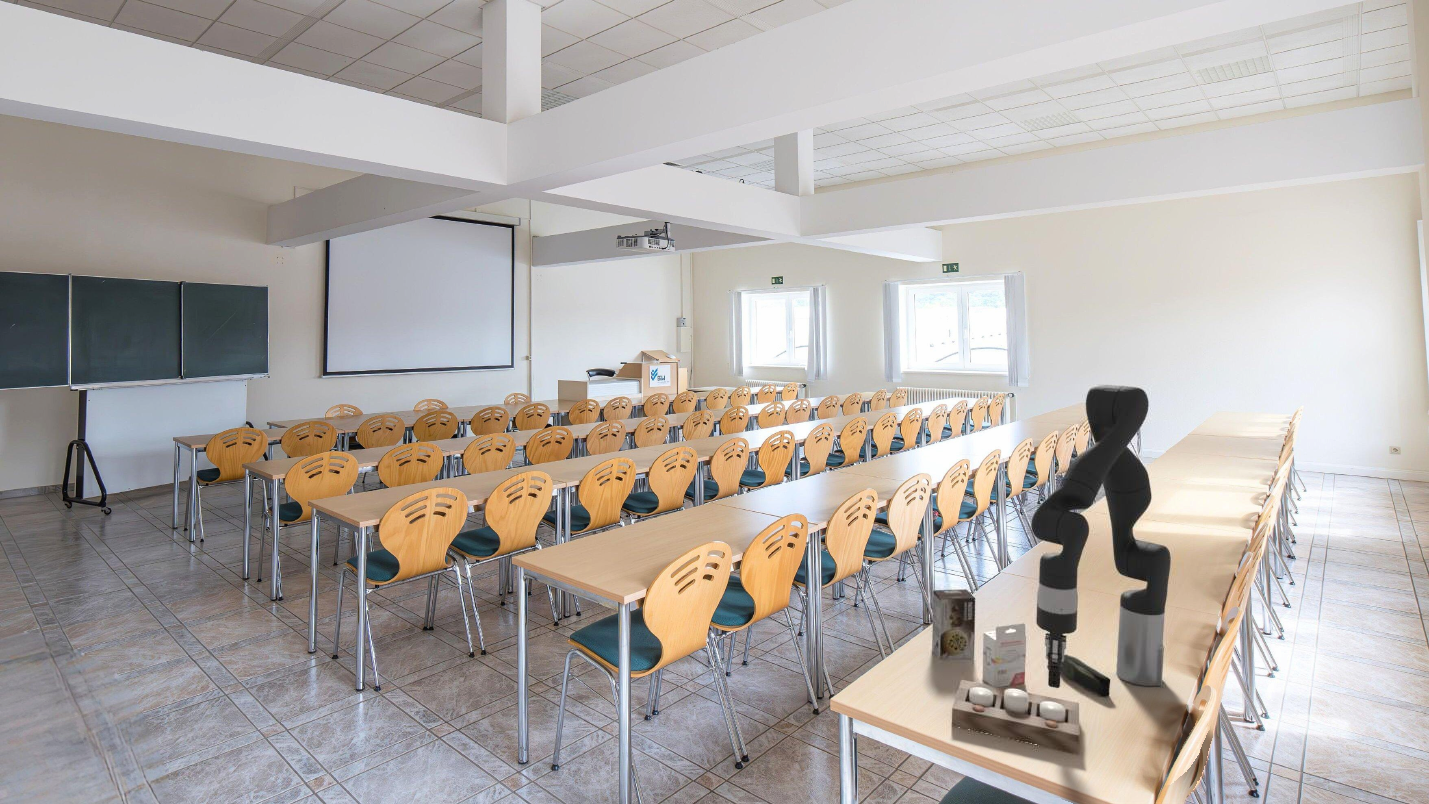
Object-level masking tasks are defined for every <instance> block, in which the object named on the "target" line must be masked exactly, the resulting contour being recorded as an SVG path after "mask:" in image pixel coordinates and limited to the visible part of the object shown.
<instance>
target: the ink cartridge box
mask: <svg viewBox="0 0 1429 804" xmlns="http://www.w3.org/2000/svg"><path fill="white" fill-rule="evenodd" d="M1026 633H1027V632H1026V624H1025V623H1024V622H1022V623H1017V624H1016V623H1015V624H1008V625H1001V626H999V625H998V626H996V627H995V630H993V631H983V635H982V636H983V639H982V641H983V643H982V645H983V646H982V680H983V681H985V682H986V683H987V684H988V685H991V686H996V687H1001V688H1004V687H1008V686H1014V685H1022V684H1024V683H1025V682H1026V659H1027V658H1026V653H1027V652H1026V651H1027V635H1026Z"/></svg>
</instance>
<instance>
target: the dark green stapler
mask: <svg viewBox="0 0 1429 804" xmlns="http://www.w3.org/2000/svg"><path fill="white" fill-rule="evenodd" d="M1061 664H1062V666H1061V667H1062V670H1061V672H1060V675H1064V676H1065V677H1066V678H1068V679H1069V680H1071V681H1072V682H1074V683H1077V684H1078V685H1079V686H1081V687H1082V688H1084V689H1085V690H1088V691H1089V692H1090V693H1092V694H1094V695H1095V696H1098V697H1102V698H1107V697H1109V696H1110V686H1111V679H1110V677H1108V676H1106V675H1105V674H1102V673H1101V672H1099V671H1098V670H1096V669H1095V668H1093V667H1091V666H1089V665H1088V664H1086V663H1085V662H1083V661H1082V660H1080V659H1079V658H1077V657H1075V656H1071V655H1069V654H1064V662H1062V663H1061Z"/></svg>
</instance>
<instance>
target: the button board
mask: <svg viewBox="0 0 1429 804" xmlns="http://www.w3.org/2000/svg"><path fill="white" fill-rule="evenodd" d="M974 687H981V688H986V689H988V690H990V691H991V692H992V693H993V707H989V706H984V705H979V704H974V703H969V693H970V689H971V688H974ZM1007 689H1008V688H1005V687H996V686H992V685H990V684H985V683H981V682H975V681H971V680H966V679H961V680H960V683H959V686H958V688H957V692H956V695H955V697H954V698H955V699H954V701H953V704H952V708H951V709H952V710H951V727H953V726H954V727H955V728H958V727H960V728H959V729H962V728H964V729H963V730H967V729H970V730H969V731H971V730H973V731H972V732H975V731H978V732H977V733H980V732H983V733H982V734H984V733H988V734H987V735H989V734H992V735H991V736H993V735H995V736H994V737H998V736H1000V737H999V738H1002V737H1003V739H1006V738H1009V739H1008V740H1011V739H1014V740H1013V741H1015V740H1019V741H1018V742H1020V741H1023V742H1022V743H1024V742H1028V743H1027V744H1029V743H1032V744H1031V745H1033V744H1037V745H1036V746H1038V745H1039V746H1038V747H1042V746H1043V747H1042V748H1046V749H1047V748H1048V749H1051V750H1056V751H1059V752H1065V753H1069V754H1074V755H1078V756H1079V754H1080V753H1079V751H1080V749H1079V748H1080V702H1076V701H1071V700H1066V699H1061V698H1056V697H1051V696H1046V695H1041V694H1036V693H1031V692H1026V691H1025V692H1026V693H1027V694H1028V695H1029V705H1028V715H1027V714H1022V713H1017V712H1012V711H1008V710H1004V691H1005V690H1007ZM1045 701H1051V702H1056V703H1058V704H1061V705H1062V706H1064V707H1065V722H1060V721H1055V720H1050V719H1046V718H1041V717H1040V703H1042V702H1045Z"/></svg>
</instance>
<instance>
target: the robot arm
mask: <svg viewBox="0 0 1429 804" xmlns="http://www.w3.org/2000/svg"><path fill="white" fill-rule="evenodd" d="M1149 403H1150V402H1149V397H1148V395H1147V392H1146V391H1145V390H1144V389H1143V388H1140V387H1136V386H1125V385H1115V384H1096V385H1094V386H1092V387H1090V388H1089V390H1088V392H1087V393H1086V398H1085V413H1086V417H1087V421H1088V425H1089V428H1090V431H1091V435H1092V438H1093V441H1094V444H1093V445H1091V446H1090V447H1088V448H1087V449H1085V450H1084V451H1083V452H1081V453H1080V454H1078V456H1076V457H1075V458H1074V459H1073V460H1072V462H1071V463H1070V464H1069V465H1068V467H1067V468H1066V471H1065V474H1064V475H1063V477H1062V479H1061V481H1060V483H1059V486H1058V487H1057V488H1056V489H1055V490H1053V492H1052V493H1051V494H1050V495H1049V496H1048V497H1047V498H1046V499H1045V500H1044V501H1043V502H1042V503H1041V504H1040V505H1039V507H1038V508H1037V509H1036V510H1035V511H1034V513H1033V515H1032V519H1031V523H1030V527H1031V531H1032V533H1033V535H1034V537H1035V538H1037V539H1038V540H1040V541H1044V542H1048V543H1051V544H1055V545H1059V546H1062V550H1061V552H1047V553H1044V554H1042V556H1041V557H1040V559H1039V571H1038V572H1039V573H1038V577H1039V579H1038V587H1037V593H1036V595H1037V597H1036V620H1035V623H1036V625H1037V627H1038V628H1040V629H1041V630H1043V631H1046V632H1045V637H1044V646H1045V659H1046V660H1047V666H1046V668H1047V670H1048V675H1047V676H1048V679H1047V680H1048V681H1047V682H1048V683H1047V685H1048V686H1049V688H1050V687H1051V688H1055V689H1059V688H1060V687H1061V673H1060V672H1061V670H1062V667H1061V666H1062V664H1061V663H1062V662H1064V655H1065V651H1066V649H1067V635H1068V634H1072V633H1075V632H1076V630H1077V625H1078V603H1079V602H1078V601H1079V600H1078V598H1079V597H1078V595H1079V594H1078V569H1079V568H1078V567H1079V563H1080V561H1081V557H1082V554H1083V551H1084V548H1085V547H1086V543H1087V540H1088V538H1089V535H1090V526H1089V522H1088V520H1087V519H1086V517H1085V516H1084V515H1083V514H1081V513H1079V512H1076V511H1078V510H1086V509H1090V507H1091V506H1092V505H1093V504H1094V502H1095V499H1096V497H1097V495H1098V493H1099V491H1100V489H1101V487H1102V485H1103V489H1104V490H1103V491H1104V493H1105V499H1106V503H1107V509H1108V515H1109V518H1110V525H1111V535H1112V536H1111V537H1112V549H1113V550H1112V551H1113V561H1114V565H1115V568H1116V570H1117V572H1118V573H1119V574H1120V575H1121V576H1124V577H1127V578H1129V579H1133V580H1138V581H1141V582H1146V587H1145V588H1142V589H1131V590H1126V591H1124V592H1122V593H1121V595H1120V599H1119V600H1120V602H1119V619H1118V634H1117V637H1118V638H1117V652H1116V653H1117V654H1116V665H1115V666H1116V671H1115V672H1116V675H1117V677H1118V678H1120V679H1121V680H1123V681H1124V682H1127V683H1130V684H1133V685H1137V686H1143V687H1144V686H1145V687H1155V686H1158V687H1163V686H1162V685H1163V672H1164V671H1163V670H1164V655H1165V654H1164V653H1165V652H1164V651H1165V646H1164V631H1165V630H1164V629H1165V613H1166V604H1167V599H1168V587H1169V580H1170V570H1171V563H1172V562H1171V553H1170V550H1169V548H1168V547H1166V545H1162V544H1159V543H1154V542H1150V541H1144V540H1140V539H1136V538H1135V537H1134V526H1135V525H1136V524H1137V522H1138V521H1139V519H1140V518H1141V517H1142V516H1143V515H1144V513H1145V512H1146V511H1147V510H1148V508H1149V506H1150V504H1151V501H1152V496H1153V495H1152V490H1151V489H1152V488H1151V483H1150V477H1149V473H1148V471H1147V468H1146V467H1145V466H1144V464H1143V463H1142V461H1141V460H1140V459H1139V458H1138V457H1137V455H1135V454H1134V452H1132V450H1131V449H1130V448H1129V447H1128V446H1129V444H1130V442H1131V441H1132V440H1133V438H1134V437H1135V436H1136V434H1137V433H1138V432H1139V430H1140V428H1141V427H1142V426H1143V424H1144V422H1145V420H1146V418H1147V416H1148V412H1149V407H1150V406H1149ZM1075 510H1076V511H1075Z"/></svg>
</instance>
